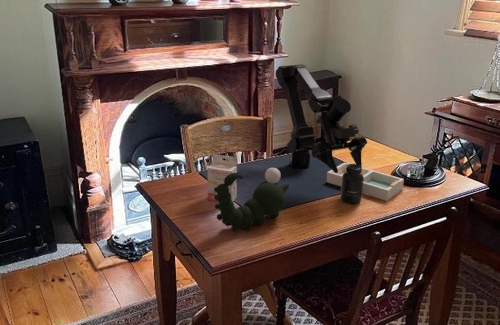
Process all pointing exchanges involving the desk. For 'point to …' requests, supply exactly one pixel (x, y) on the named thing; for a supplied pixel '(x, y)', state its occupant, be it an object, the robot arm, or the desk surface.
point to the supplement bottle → (352, 184)
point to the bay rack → (371, 182)
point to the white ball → (272, 175)
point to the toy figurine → (249, 204)
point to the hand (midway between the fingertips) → (348, 170)
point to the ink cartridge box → (221, 175)
